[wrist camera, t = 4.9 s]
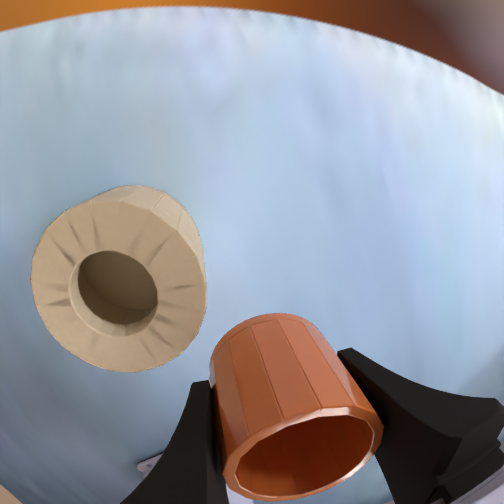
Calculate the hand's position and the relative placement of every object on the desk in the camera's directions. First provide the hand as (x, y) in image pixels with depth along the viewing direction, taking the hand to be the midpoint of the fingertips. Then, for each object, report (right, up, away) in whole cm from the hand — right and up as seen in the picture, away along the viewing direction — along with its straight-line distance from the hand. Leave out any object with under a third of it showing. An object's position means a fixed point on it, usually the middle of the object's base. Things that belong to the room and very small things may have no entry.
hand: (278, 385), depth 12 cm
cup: (0, 0, +1) cm, 1 cm away
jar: (-8, +5, +6) cm, 11 cm away
